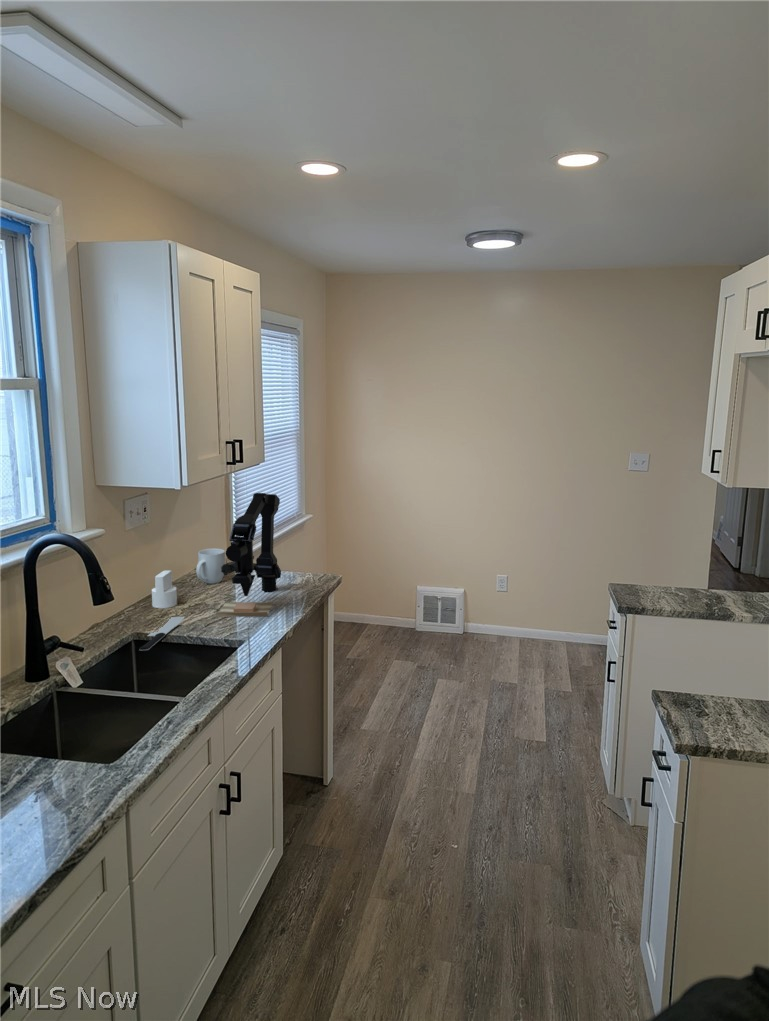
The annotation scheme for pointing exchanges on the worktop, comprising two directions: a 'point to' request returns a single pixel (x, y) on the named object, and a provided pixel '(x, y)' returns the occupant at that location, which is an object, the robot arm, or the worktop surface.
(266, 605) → the board
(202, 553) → the mug
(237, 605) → the tile
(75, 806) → the worktop surface
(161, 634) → the kitchen cleaver
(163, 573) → the base with upright slab
